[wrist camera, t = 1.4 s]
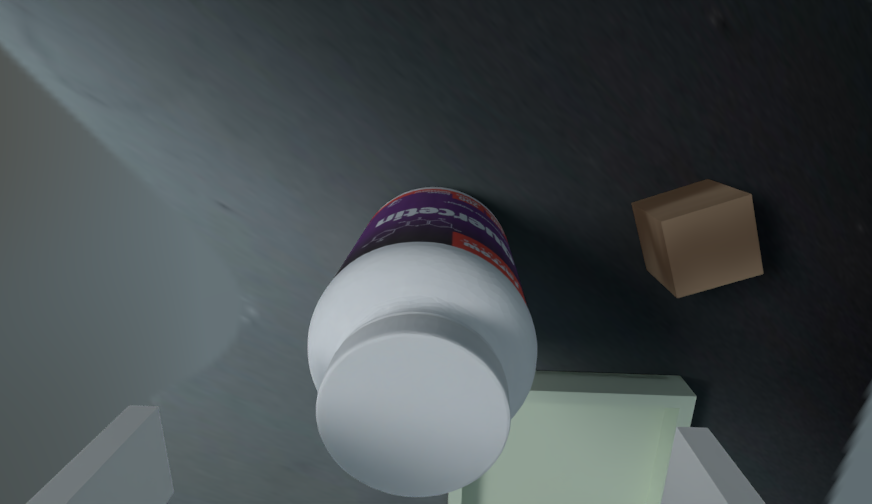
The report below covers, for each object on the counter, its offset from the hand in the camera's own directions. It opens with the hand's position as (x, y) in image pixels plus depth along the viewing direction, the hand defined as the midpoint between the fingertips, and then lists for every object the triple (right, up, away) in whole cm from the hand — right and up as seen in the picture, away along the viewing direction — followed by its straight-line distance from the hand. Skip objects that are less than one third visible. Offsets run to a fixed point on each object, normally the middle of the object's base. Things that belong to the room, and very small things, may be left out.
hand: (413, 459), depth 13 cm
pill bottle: (0, +5, +15) cm, 16 cm away
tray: (+8, -8, +19) cm, 22 cm away
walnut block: (+14, +7, +14) cm, 20 cm away
